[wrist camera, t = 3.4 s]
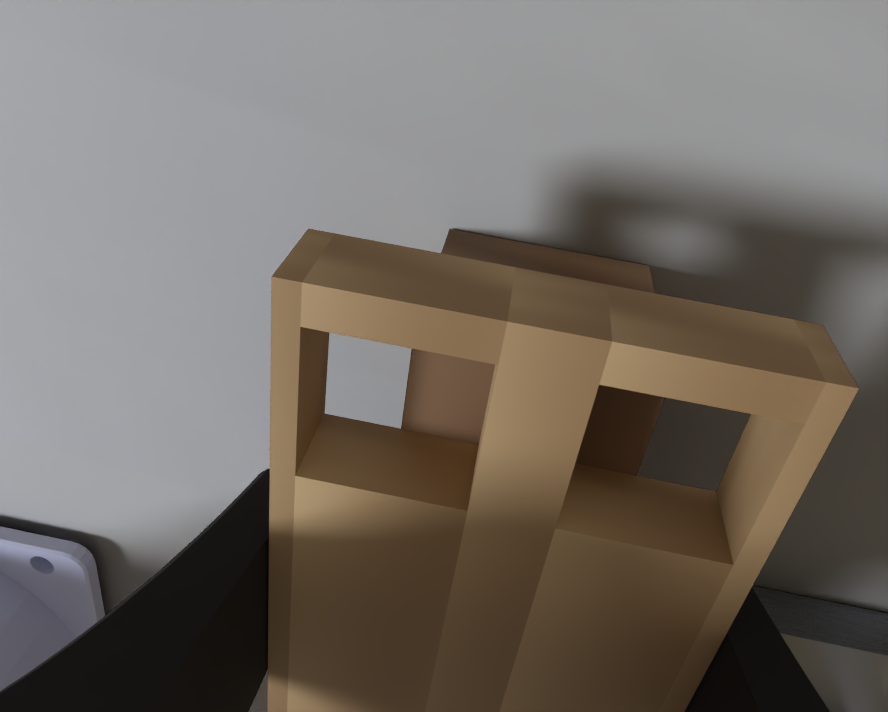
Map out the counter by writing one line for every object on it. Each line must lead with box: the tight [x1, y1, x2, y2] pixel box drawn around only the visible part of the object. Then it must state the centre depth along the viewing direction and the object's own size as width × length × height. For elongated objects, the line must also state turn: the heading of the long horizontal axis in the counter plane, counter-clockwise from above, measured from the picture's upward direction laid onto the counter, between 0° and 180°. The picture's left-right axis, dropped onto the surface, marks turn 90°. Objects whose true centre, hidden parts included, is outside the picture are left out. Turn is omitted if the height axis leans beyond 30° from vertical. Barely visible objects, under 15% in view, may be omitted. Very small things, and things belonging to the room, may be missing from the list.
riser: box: [401, 229, 665, 476], centre depth 12 cm, size 3×8×3 cm, turn 172°
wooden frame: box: [267, 229, 859, 712], centre depth 10 cm, size 6×10×1 cm, turn 172°
